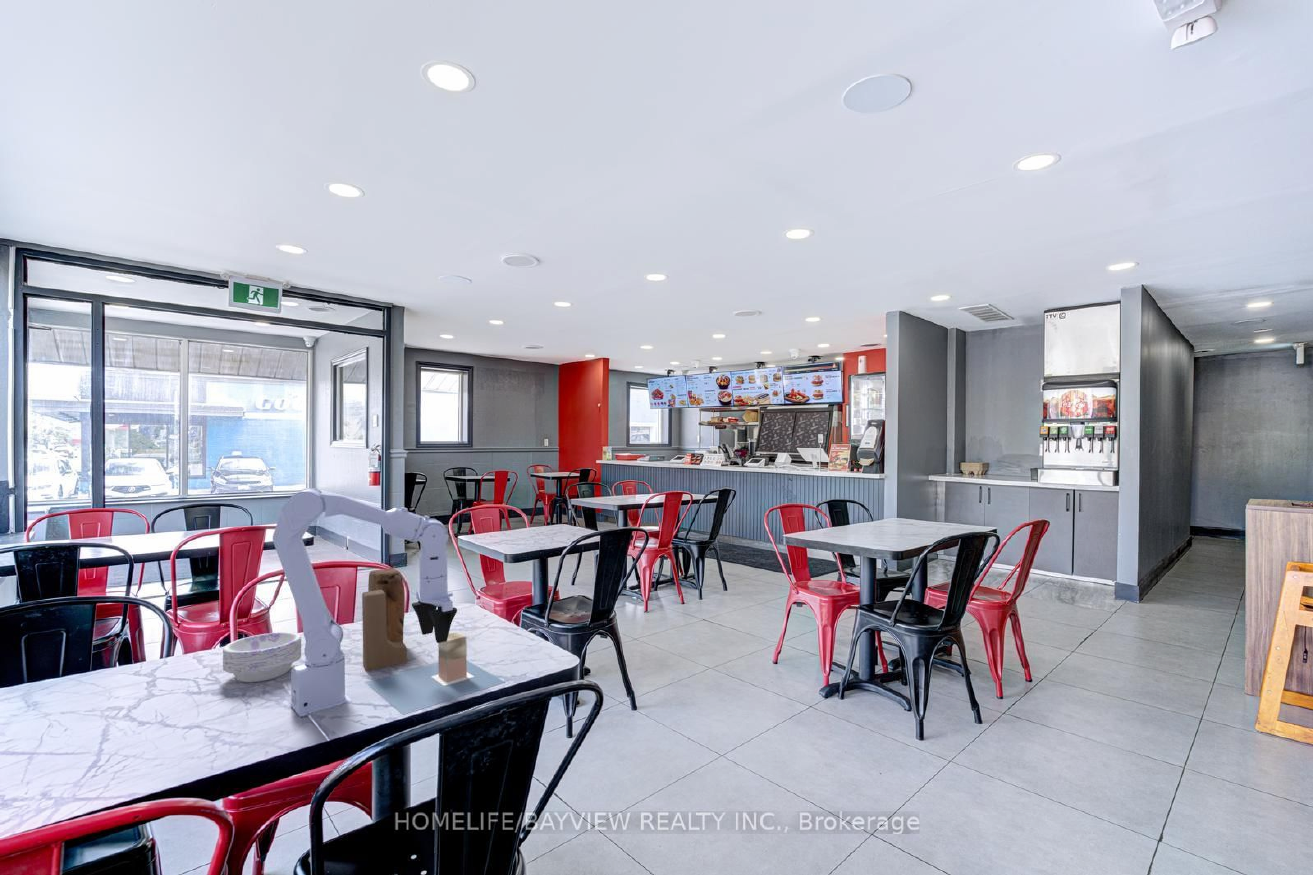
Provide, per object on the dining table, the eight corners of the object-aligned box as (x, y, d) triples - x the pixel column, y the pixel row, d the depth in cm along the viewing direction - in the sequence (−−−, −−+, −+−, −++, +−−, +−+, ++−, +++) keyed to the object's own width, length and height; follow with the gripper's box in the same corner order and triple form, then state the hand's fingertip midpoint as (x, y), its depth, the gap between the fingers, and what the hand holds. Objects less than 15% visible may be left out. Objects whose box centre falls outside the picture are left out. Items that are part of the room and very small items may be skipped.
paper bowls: (283, 658, 151) (282, 626, 151) (314, 671, 142) (313, 637, 142) (211, 679, 138) (210, 644, 138) (240, 694, 129) (240, 657, 129)
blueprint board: (403, 717, 117) (403, 714, 117) (365, 684, 134) (365, 681, 134) (505, 684, 133) (505, 681, 133) (460, 658, 149) (460, 656, 149)
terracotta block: (447, 682, 133) (447, 661, 133) (438, 676, 136) (438, 656, 136) (466, 676, 136) (466, 656, 136) (457, 671, 139) (457, 651, 139)
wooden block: (403, 659, 149) (402, 586, 148) (407, 665, 145) (406, 590, 145) (362, 668, 143) (361, 592, 143) (366, 674, 140) (365, 596, 140)
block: (366, 645, 159) (365, 569, 159) (396, 639, 164) (395, 565, 164) (377, 657, 150) (375, 576, 150) (408, 650, 155) (407, 572, 155)
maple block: (447, 661, 133) (446, 641, 133) (438, 656, 136) (438, 636, 136) (466, 656, 136) (466, 636, 136) (457, 651, 139) (457, 631, 139)
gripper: (465, 577, 130) (466, 640, 130) (437, 567, 141) (438, 626, 141) (433, 583, 126) (434, 649, 126) (406, 572, 136) (407, 633, 136)
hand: (434, 637), depth 133 cm, fingers open, 7 cm apart
